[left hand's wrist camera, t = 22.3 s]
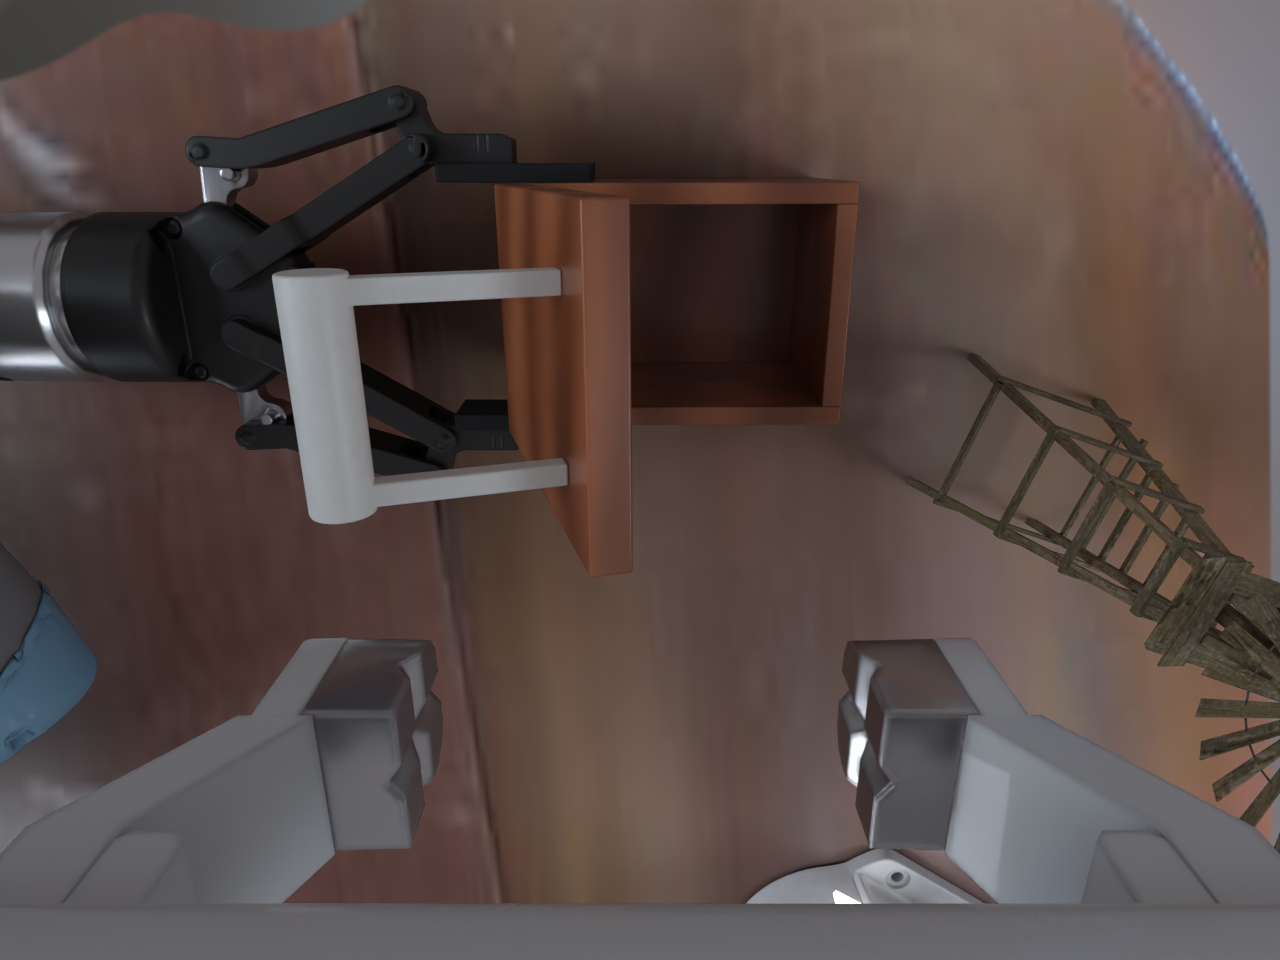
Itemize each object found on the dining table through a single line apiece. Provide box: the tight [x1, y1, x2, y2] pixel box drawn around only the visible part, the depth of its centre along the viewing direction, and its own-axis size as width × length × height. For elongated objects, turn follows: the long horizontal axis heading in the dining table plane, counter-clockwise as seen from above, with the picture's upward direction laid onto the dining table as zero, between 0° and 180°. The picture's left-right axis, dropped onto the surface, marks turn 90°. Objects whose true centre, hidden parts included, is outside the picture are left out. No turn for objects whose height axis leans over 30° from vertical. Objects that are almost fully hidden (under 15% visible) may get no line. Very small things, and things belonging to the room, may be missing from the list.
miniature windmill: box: [907, 353, 1280, 854], centre depth 34 cm, size 9×8×30 cm
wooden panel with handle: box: [272, 184, 633, 578], centre depth 27 cm, size 14×10×9 cm
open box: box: [514, 178, 860, 425], centre depth 40 cm, size 14×10×10 cm
